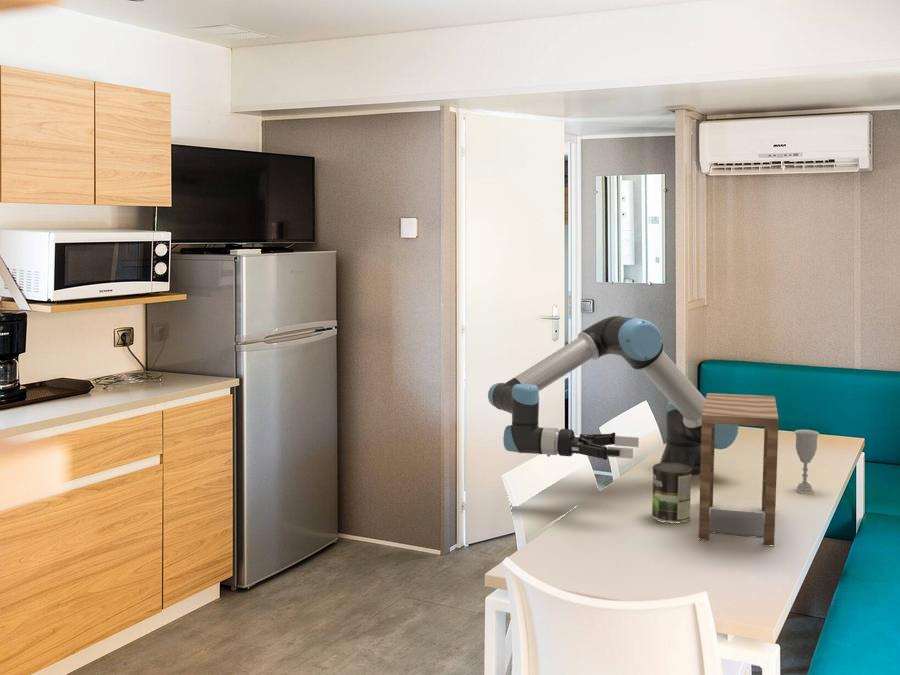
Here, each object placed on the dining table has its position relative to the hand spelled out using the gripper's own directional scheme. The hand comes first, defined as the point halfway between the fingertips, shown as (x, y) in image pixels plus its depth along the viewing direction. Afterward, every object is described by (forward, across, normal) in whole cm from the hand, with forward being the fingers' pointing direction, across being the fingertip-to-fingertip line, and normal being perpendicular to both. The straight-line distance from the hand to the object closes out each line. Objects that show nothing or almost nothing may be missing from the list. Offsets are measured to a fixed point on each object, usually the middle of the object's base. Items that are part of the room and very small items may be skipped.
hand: (635, 447), depth 248 cm
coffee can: (+10, 0, -19) cm, 21 cm away
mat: (+27, 0, -19) cm, 33 cm away
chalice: (+46, -37, -19) cm, 62 cm away
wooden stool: (+27, 0, -19) cm, 33 cm away
